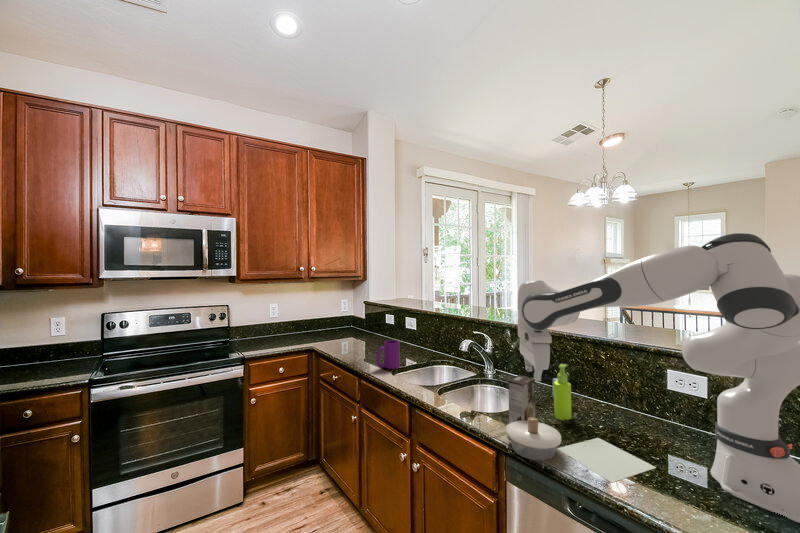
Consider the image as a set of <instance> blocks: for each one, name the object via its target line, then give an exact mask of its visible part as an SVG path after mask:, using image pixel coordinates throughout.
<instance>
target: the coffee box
mask: <svg viewBox="0 0 800 533" xmlns="http://www.w3.org/2000/svg"><path fill="white" fill-rule="evenodd" d="M507 382H508V424H510V423H512V422H515V421H528V418H529V417H534V418H536V389H535V388H536V385H535V382H536V381H535V380H534V377H533V378H532V377H528V376H525V375H521V374H518V375H517V376H514V377H513V378H511V379H509V380H508V381H507Z"/></svg>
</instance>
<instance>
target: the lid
mask: <svg viewBox="0 0 800 533" xmlns="http://www.w3.org/2000/svg"><path fill="white" fill-rule="evenodd" d="M505 430H506V432H505V433H506V436H507V435H508V436H509V437H510V438H511V439H512V440H513V441H515V442H517V443H519V444H521V445H524V446H527V447H532V448H538V449H549V448H554V447H556V448H558V447H559V446H560V445H561V443H562V435H561V433H560V432H559V431H558V430H557V429H556V428H554V427H552V426H550V425H548V424H546V423H542V422H540V421H539V419H538V418H536V417H535V418H534V417H529V418H528V421H515V422H512V423H510V424H509V423H508V424H507V426H506V429H505Z"/></svg>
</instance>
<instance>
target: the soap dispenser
mask: <svg viewBox="0 0 800 533" xmlns="http://www.w3.org/2000/svg"><path fill="white" fill-rule="evenodd" d="M568 366H569V364H567V363H565V364H564V363H560V364H559V365H558V368H559V372H558V373H557V377H556V378H558V381H555V382H554V398H553V403H554V405H553V406H554V407H553V408H554V412H553V414H554V418H555V419H557V420H558V421H567V420H572V384H571V383H570V382H568V374H567V373H566V372H565V371H566V370H565V368H566V367H568Z"/></svg>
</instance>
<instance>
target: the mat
mask: <svg viewBox="0 0 800 533" xmlns="http://www.w3.org/2000/svg"><path fill="white" fill-rule="evenodd" d="M556 450H559V451H560V452H562V454H565V455H567V456H568V457H569V458H571V459H573V460H574V461H575V462H578V463H579V464H581V465H582V466H583V467H585V468H588V470H590V471H592V472H594V473H595V474H597V475H598V476H600V477H602V478H603V479H605V480H606V481H608V482H610V483H615V482H618V481H623V480H624V479H627V478H630V477H633V476H636V475H640V474H641V473H644V472H649V471H650V470H654V469H656V468H657V467H656V466H655V465H652V464H651V463H649V462H646V461H645V460H643V459H641V458H638V457H637V456H635V455H633V454H631V453H629V452H627V451H625V450H623V449H622V448H619V447H617V446H616V445H614V444H611V443H609V442H607V441H605V440H603V439H601V438H599V437H595V438H592V439H588V440H584V441H581V442H576V443H573V444H568V445H565V446H561V447H556Z"/></svg>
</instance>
